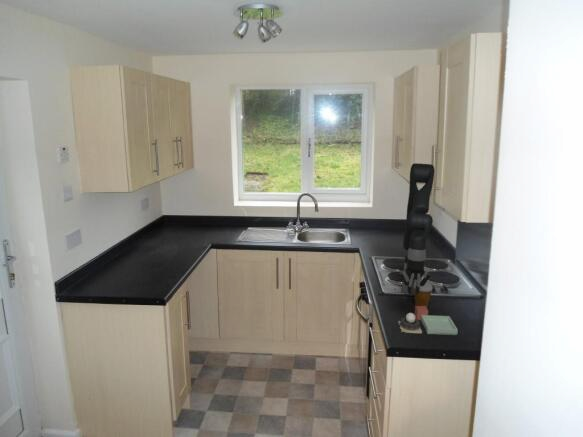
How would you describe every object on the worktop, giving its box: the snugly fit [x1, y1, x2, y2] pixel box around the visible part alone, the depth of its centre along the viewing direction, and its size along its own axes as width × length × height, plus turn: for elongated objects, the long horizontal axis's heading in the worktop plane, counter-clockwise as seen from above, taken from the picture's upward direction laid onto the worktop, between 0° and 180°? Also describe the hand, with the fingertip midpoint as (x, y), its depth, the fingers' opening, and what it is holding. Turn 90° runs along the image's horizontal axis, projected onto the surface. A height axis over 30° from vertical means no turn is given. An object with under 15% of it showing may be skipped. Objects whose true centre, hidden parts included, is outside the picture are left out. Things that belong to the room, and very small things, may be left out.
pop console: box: [397, 316, 423, 334], centre depth 205 cm, size 9×9×4 cm
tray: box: [420, 314, 458, 336], centre depth 207 cm, size 13×13×3 cm
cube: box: [413, 305, 429, 321], centre depth 215 cm, size 5×5×5 cm
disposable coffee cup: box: [413, 280, 434, 309], centre depth 227 cm, size 10×10×12 cm
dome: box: [405, 312, 416, 324], centre depth 204 cm, size 4×4×4 cm
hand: (412, 293), depth 201 cm, fingers closed
